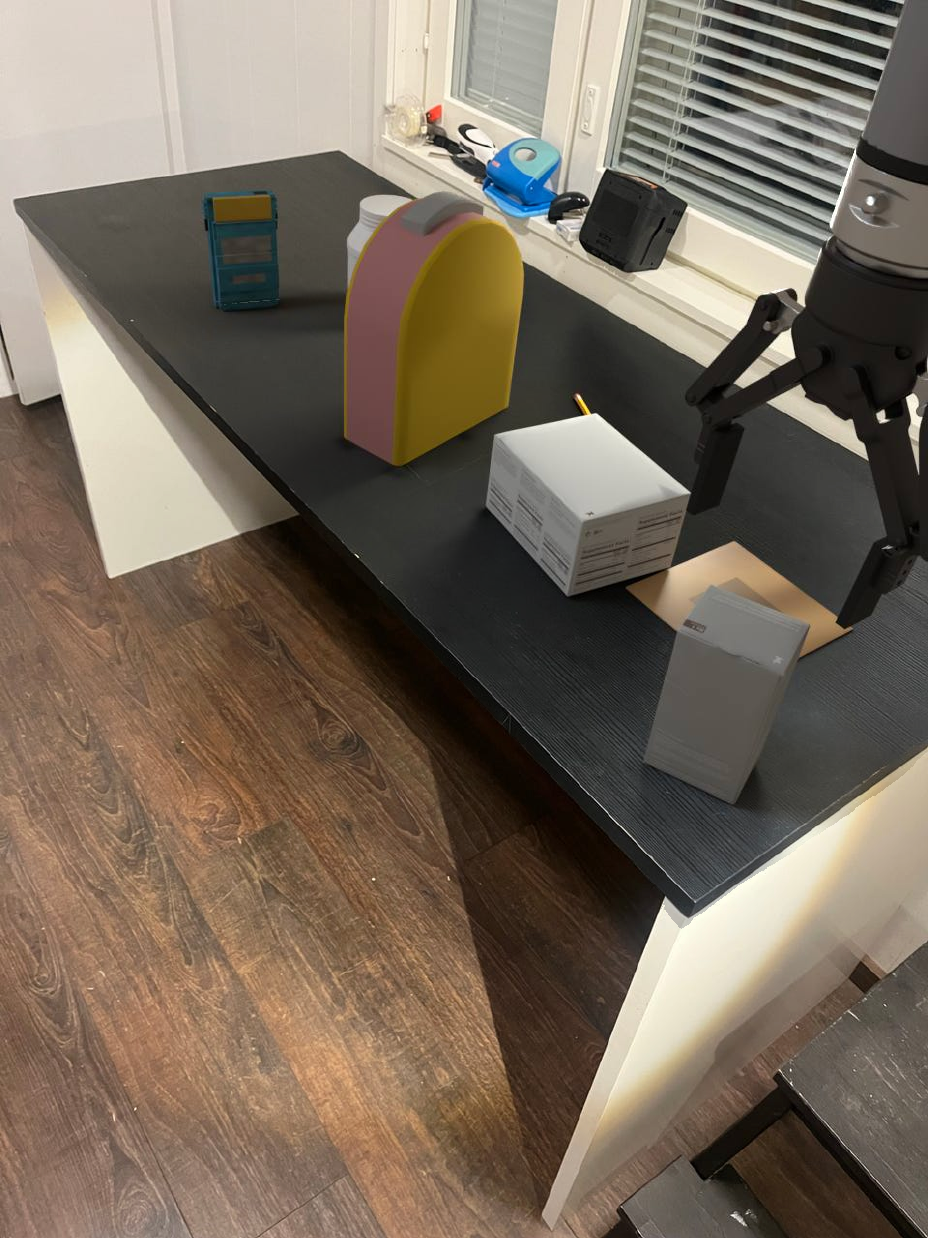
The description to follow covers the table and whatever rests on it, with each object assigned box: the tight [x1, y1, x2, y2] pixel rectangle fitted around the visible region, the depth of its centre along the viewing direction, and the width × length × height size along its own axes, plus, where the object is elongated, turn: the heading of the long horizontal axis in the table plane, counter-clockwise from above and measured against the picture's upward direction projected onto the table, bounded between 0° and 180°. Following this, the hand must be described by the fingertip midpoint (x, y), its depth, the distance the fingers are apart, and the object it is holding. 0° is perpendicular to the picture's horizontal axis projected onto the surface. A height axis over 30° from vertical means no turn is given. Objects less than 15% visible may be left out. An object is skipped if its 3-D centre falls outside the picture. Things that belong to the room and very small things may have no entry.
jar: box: [346, 194, 413, 288], centre depth 132 cm, size 12×10×15 cm
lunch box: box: [343, 190, 525, 467], centre depth 107 cm, size 21×9×26 cm, turn 140°
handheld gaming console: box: [201, 189, 280, 312], centre depth 130 cm, size 10×4×15 cm, turn 113°
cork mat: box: [625, 540, 854, 660], centre depth 94 cm, size 16×16×1 cm
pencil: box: [573, 393, 591, 416], centre depth 119 cm, size 1×13×1 cm, turn 13°
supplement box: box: [485, 413, 691, 597], centre depth 98 cm, size 17×13×9 cm
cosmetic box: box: [642, 584, 810, 805], centre depth 74 cm, size 8×7×16 cm
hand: (773, 560), depth 65 cm, fingers open, 13 cm apart
